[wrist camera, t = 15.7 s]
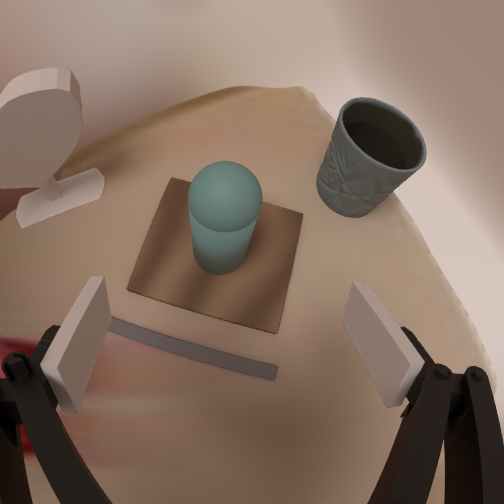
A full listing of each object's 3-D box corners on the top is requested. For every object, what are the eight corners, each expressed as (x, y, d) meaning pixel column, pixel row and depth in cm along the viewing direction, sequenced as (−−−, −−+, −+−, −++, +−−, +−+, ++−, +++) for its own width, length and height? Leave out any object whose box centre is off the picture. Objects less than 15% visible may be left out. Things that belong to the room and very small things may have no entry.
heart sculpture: (109, 162, 36) (69, 50, 20) (114, 193, 35) (67, 79, 18) (10, 201, 33) (-60, 118, 16) (10, 233, 31) (-72, 155, 15)
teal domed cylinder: (186, 266, 32) (174, 202, 20) (202, 220, 34) (201, 138, 22) (237, 281, 33) (257, 225, 20) (250, 233, 35) (275, 158, 22)
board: (128, 290, 31) (126, 289, 31) (171, 180, 37) (171, 177, 36) (275, 334, 32) (276, 333, 31) (301, 216, 37) (303, 213, 36)
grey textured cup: (391, 209, 39) (441, 160, 28) (334, 235, 37) (381, 182, 26) (352, 150, 42) (388, 92, 31) (293, 168, 39) (321, 102, 28)
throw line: (106, 329, 30) (105, 329, 29) (110, 316, 30) (109, 316, 30) (273, 380, 30) (274, 380, 30) (277, 366, 31) (277, 366, 30)
